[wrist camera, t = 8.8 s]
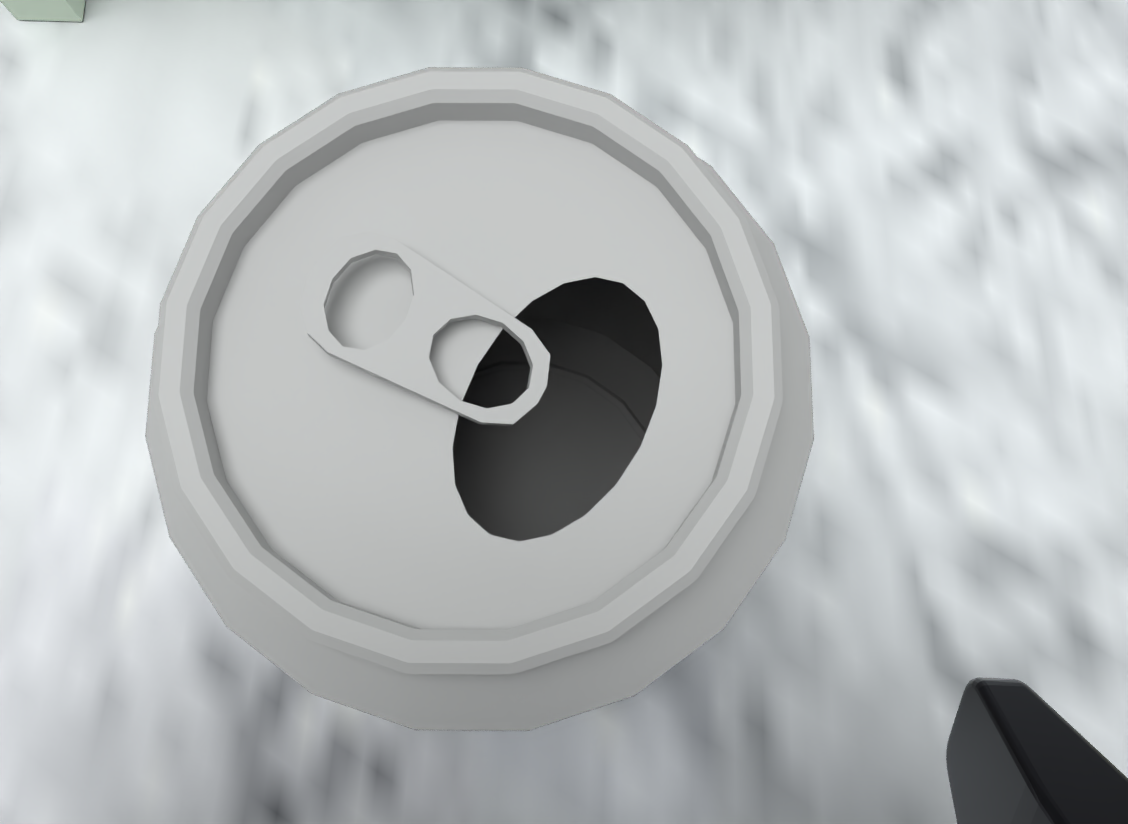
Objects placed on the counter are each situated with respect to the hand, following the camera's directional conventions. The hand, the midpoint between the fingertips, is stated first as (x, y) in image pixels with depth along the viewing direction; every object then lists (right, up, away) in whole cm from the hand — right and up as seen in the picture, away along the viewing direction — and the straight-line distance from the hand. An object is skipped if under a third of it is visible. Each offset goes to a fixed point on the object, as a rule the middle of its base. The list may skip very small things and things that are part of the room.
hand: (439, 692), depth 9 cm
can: (0, +1, +13) cm, 13 cm away
